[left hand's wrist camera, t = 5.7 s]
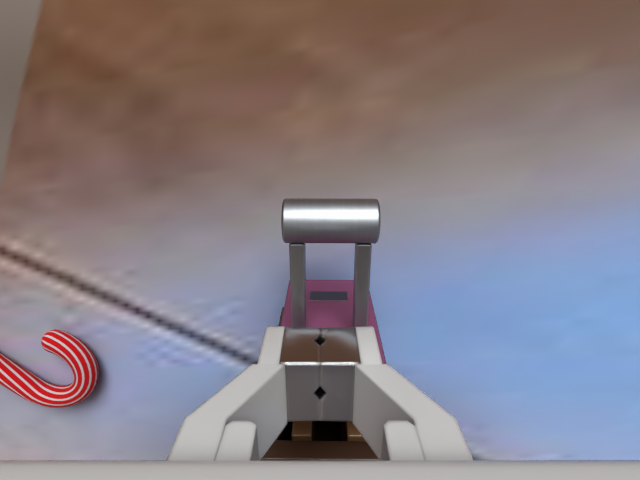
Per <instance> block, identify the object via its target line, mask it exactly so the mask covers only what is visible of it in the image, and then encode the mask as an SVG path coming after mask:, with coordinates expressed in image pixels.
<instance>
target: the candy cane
mask: <svg viewBox="0 0 640 480" xmlns="http://www.w3.org/2000/svg"><path fill="white" fill-rule="evenodd" d="M41 343H42V346H43V348H44V349H45V350H46V351H48V352H51V353H53V354H55V355H57V356H59V357H60V358H62V359H63V360H64V361H66V362H67V363H68V365H69V366H70V367H71V369H72V371H73V373H74V382H73V383H72V384H69V385H64V386H62V385H54V384H51V383H48V382H46V381H44V380H42V379H40V378H39V377H37V376H36V375H34V374H32V373H31V372H29V371H28V370H26V369H25V368H23V367H21V366H20V365H18V364H17V363H15V362H13V361H12V360H10V359H9V358H7V357H5V356H4V355H2V354H1V353H0V384H1V385H2V386H4V387H6V388H7V389H9V390H11V391H12V392H14V393H16V394H17V395H19V396H21V397H22V398H24V399H26V400H28V401H30V402H32V403H35V404H38V405H41V406H46V407H55V408H60V407H68V406H72V405H75V404H77V403H79V402H81V401H83V400H84V399H86V398H87V397H88V396H89V395H90V394H91V393H92V392H93V390H94V389H95V387H96V385H97V382H98V378H99V367H98V363H97V360H96V358H95V356H94V355H93V353H92V352H91V350H90V349H89V348H88V347H87V346H86V345H85V344H84V343H83V342H82V341H81V340H79V339H78V338H76V337H75V336H73V335H71V334H69V333H67V332H64V331H61V330H51V331H49V332H47V333H46V334H44V336H43V337H42V341H41Z"/></svg>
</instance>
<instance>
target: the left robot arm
mask: <svg viewBox="0 0 640 480" xmlns="http://www.w3.org/2000/svg"><path fill="white" fill-rule="evenodd" d="M291 421H349V422H353V424H354V426H355V427H356V428H357V430H358V431H359V433H360V434H361V435H362V437H363V438H364V439H365V441H366V442H367V443H368V445H369V446H370V448H371V449H372V450H373V452H374V453H375V454H376V456H377V457H378V458H379V460H358V461H260V460H261V459H262V457H263V456H264V455H265V453H266V452H267V451H268V449H269V448H270V447H271V445H272V444H273V442H274V441H275V440H276V438H277V437H278V436H279V434H280V433H281V432H282V430H283V429H284V428H285V426H286V425H287V422H291ZM0 480H640V460H551V461H474V460H473V458H472V456H471V453H470V451H469V448H468V446H467V444H466V441H465V439H464V437H463V434H462V432H461V429H460V427H459V425H458V422H457V420H456V419H455V418H454V417H453V416H451V415H450V414H449V413H448V412H446V411H445V410H444V409H443V408H442V407H440V406H439V405H438V404H437V403H435V402H434V401H433V400H432V399H430V398H429V397H428V396H427V395H425V394H424V393H423V392H422V391H420V390H419V389H418V388H417V387H416V386H414V385H413V384H412V383H411V382H409V381H408V380H407V379H406V378H404V377H403V376H402V375H401V374H399V373H398V372H397V371H396V370H395V369H393V368H392V367H391V366H390V365H388V364H382V359H381V355H380V351H379V347H378V343H377V338H376V334H375V330H374V327H373V326H362V327H329V328H320V327H288V326H286V327H284V326H268V327H267V328H266V329H265V334H264V338H263V342H262V346H261V351H260V355H259V359H258V363H257V364H252V365H250V366H249V367H248V368H247V369H245V370H244V371H243V372H242V373H241V374H239V375H238V376H237V377H236V378H234V379H233V380H232V381H231V382H229V383H228V384H227V385H226V386H224V387H223V388H222V389H221V390H219V391H218V392H217V393H216V394H214V395H213V396H212V397H211V398H209V399H208V400H207V401H206V402H204V403H203V404H202V405H201V406H199V407H198V408H197V409H196V410H195V411H193V412H192V413H191V414H190V415H188V416H187V417H186V418H185V419H184V420H183V423H182V425H181V427H180V430H179V432H178V434H177V437H176V439H175V442H174V444H173V446H172V449H171V451H170V453H169V456H168V458H167V460H166V461H0Z"/></svg>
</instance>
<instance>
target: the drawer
mask: <svg viewBox="0 0 640 480" xmlns="http://www.w3.org/2000/svg"><path fill="white" fill-rule="evenodd" d="M379 234H380V206H379V202H378V200H377V199H284V201H283V204H282V237H283V241H284V242H285V243H290V244H289V254H290V281H289V286H288V291H287V296H286V301H285V306H284V312H283V317H282V322H281V326H284V327H286V326H288V327H320V328H329V327H362V326H373V327H374V330H375V334H376V338H377V343H378V347H379V351H380V355H381V359H382V364H386V362H385V357H384V353H383V348H382V344H381V340H380V335H379V331H378V326H377V322H376V318H375V313H374V309H373V304H372V300H371V296H370V291H369V284H370V266H371V247H372V245H371V243H377V241H378V239H379ZM305 243H355V261H354V280H306V259H305ZM292 441H365V439H364V438H363V437H362V435H361V434H360V433H359V431H358V430H357V428H356V427H355V426H354V424H353V422H349V421H293V426H292Z"/></svg>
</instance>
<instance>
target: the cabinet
mask: <svg viewBox="0 0 640 480" xmlns="http://www.w3.org/2000/svg"><path fill="white" fill-rule="evenodd" d="M283 312H284V307H283V308H282V312H281V317H280V322H279V326H281V322H282V317H283ZM375 318H376V317H375ZM376 322H377V321H376ZM378 331H379V330H378ZM379 335H380V334H379ZM380 340H381V339H380ZM381 344H382V343H381ZM382 348H383V347H382ZM383 353H384V352H383ZM384 357H385V356H384ZM385 362H386V361H385ZM292 426H293V421H291V422H287V425H286V426H285V428H284V429H283V430H282V432H281V433H280V434H279V436H278V437H277V438H276V440H275V441H274V442H273V444H272V445H271V447H270V448H269V449H268V451H267V452H266V453H265V455H264V456H263V457H262V459H261V460H260V461H358V460H379V458H378V457H377V456H376V454H375V453H374V452H373V450H372V449H371V448H370V446H369V445H368V443H367V442H366V441H292Z"/></svg>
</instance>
